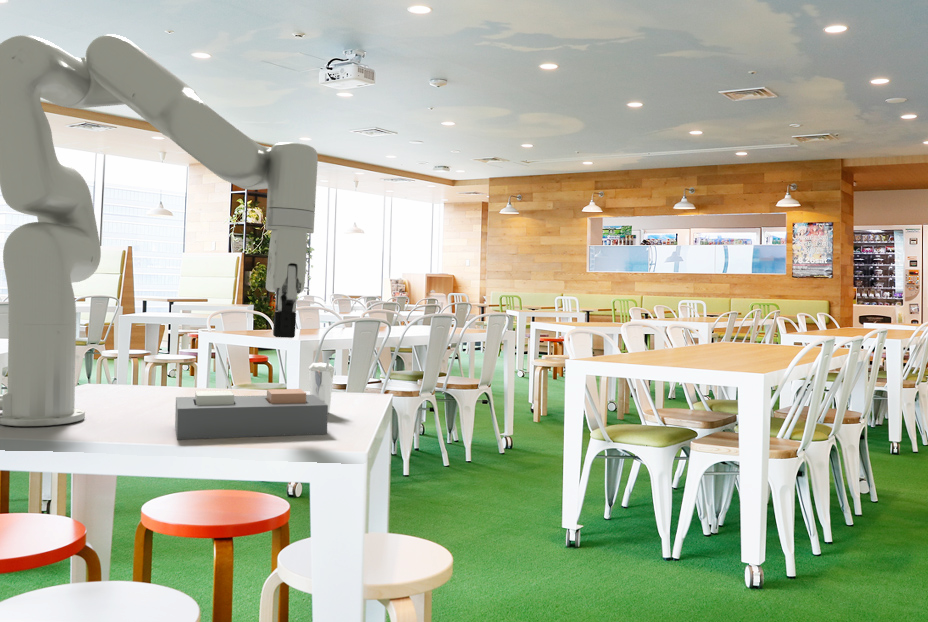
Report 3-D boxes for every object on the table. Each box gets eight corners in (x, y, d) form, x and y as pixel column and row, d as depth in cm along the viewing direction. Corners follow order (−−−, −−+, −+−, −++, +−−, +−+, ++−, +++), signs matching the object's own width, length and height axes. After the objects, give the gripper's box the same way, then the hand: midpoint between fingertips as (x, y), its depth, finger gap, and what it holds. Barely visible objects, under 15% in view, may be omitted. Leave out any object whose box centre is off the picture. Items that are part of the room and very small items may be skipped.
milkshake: (315, 416, 140) (316, 359, 139) (303, 411, 144) (305, 356, 144) (338, 414, 142) (340, 359, 142) (326, 410, 146) (328, 356, 146)
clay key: (270, 419, 123) (271, 393, 123) (266, 413, 128) (267, 389, 128) (305, 418, 125) (306, 393, 125) (299, 413, 130) (300, 388, 130)
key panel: (177, 439, 115) (177, 408, 115) (175, 425, 126) (175, 397, 126) (327, 433, 123) (327, 405, 123) (312, 420, 134) (313, 394, 134)
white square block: (196, 422, 119) (197, 395, 119) (194, 416, 124) (195, 391, 124) (233, 421, 121) (234, 395, 121) (230, 415, 126) (231, 390, 126)
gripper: (260, 222, 132) (254, 332, 132) (272, 217, 118) (265, 340, 118) (305, 226, 134) (299, 334, 135) (322, 221, 120) (316, 341, 121)
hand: (283, 336), depth 126 cm, fingers closed
